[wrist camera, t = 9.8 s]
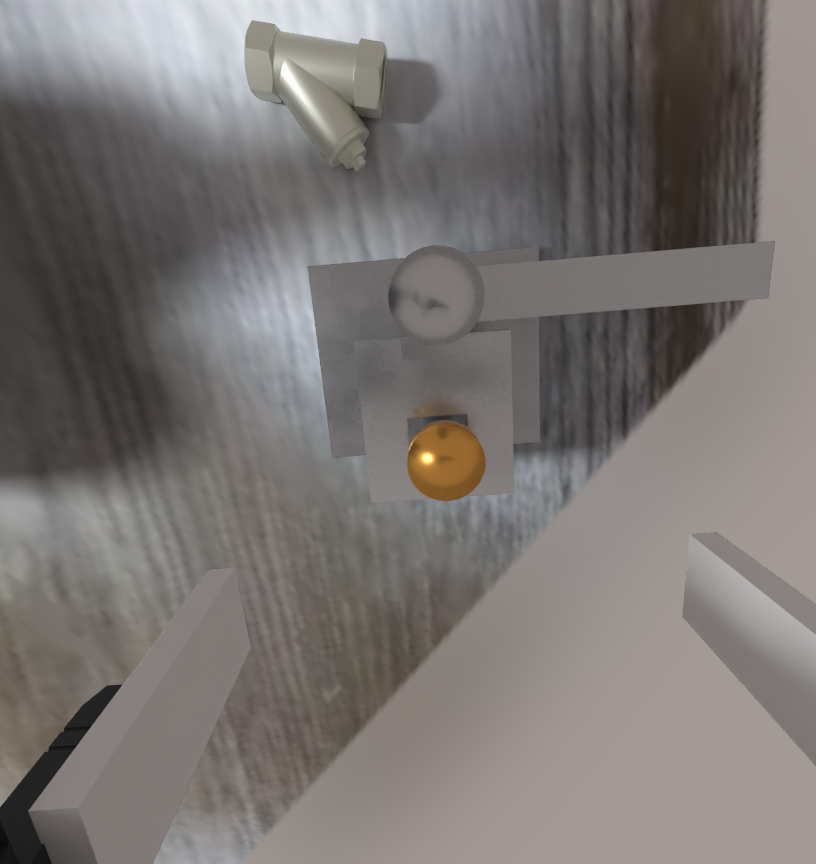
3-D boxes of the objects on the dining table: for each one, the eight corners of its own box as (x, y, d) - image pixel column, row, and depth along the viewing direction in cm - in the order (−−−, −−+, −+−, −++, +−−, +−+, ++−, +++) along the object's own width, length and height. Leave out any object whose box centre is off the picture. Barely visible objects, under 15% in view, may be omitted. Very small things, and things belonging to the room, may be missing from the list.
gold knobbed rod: (411, 447, 35) (410, 503, 25) (406, 394, 34) (404, 429, 24) (466, 443, 35) (487, 498, 25) (463, 389, 34) (484, 423, 24)
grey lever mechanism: (335, 465, 37) (287, 567, 22) (310, 267, 33) (233, 236, 19) (626, 443, 36) (768, 533, 22) (635, 239, 32) (815, 185, 18)
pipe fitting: (375, 179, 32) (388, 63, 30) (370, 168, 28) (384, 34, 26) (261, 161, 32) (264, 42, 30) (240, 147, 28) (243, 11, 26)
